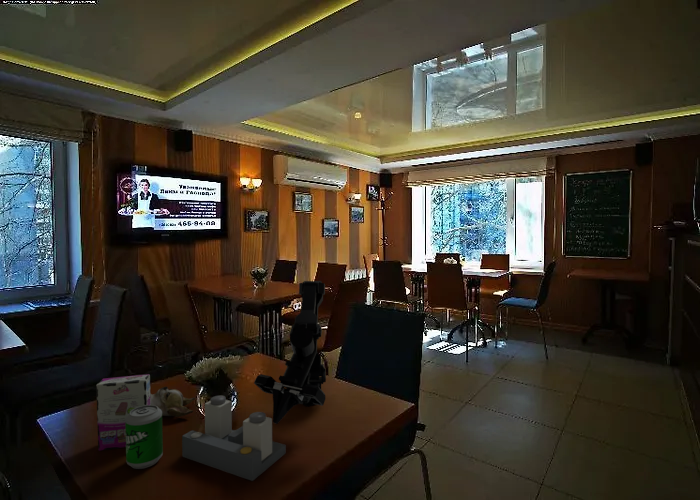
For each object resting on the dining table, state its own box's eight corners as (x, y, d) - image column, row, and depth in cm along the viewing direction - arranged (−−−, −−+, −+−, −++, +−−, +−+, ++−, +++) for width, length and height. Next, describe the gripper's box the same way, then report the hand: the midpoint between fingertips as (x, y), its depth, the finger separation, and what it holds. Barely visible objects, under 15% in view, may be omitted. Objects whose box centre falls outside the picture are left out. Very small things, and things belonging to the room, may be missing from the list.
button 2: (254, 447, 93) (254, 409, 92) (272, 452, 90) (271, 414, 90) (243, 456, 89) (242, 416, 89) (260, 461, 87) (260, 421, 86)
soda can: (154, 449, 96) (153, 400, 96) (168, 460, 91) (168, 409, 91) (120, 462, 90) (119, 411, 90) (134, 475, 86) (133, 421, 85)
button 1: (217, 428, 102) (216, 393, 102) (231, 432, 100) (231, 397, 99) (205, 435, 98) (204, 399, 98) (220, 439, 96) (219, 403, 96)
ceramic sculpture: (142, 381, 117) (196, 378, 122) (141, 410, 117) (195, 406, 122) (134, 395, 107) (193, 392, 112) (133, 427, 107) (192, 422, 112)
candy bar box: (152, 435, 103) (151, 373, 102) (147, 445, 98) (146, 380, 97) (103, 441, 100) (102, 377, 99) (97, 451, 95) (95, 384, 94)
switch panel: (219, 433, 104) (219, 413, 103) (285, 453, 94) (285, 431, 94) (182, 456, 93) (182, 434, 93) (252, 481, 84) (252, 456, 83)
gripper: (342, 383, 105) (320, 444, 96) (285, 372, 113) (260, 426, 104) (326, 363, 97) (302, 427, 88) (266, 353, 106) (238, 410, 97)
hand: (275, 423), depth 95 cm, fingers closed
